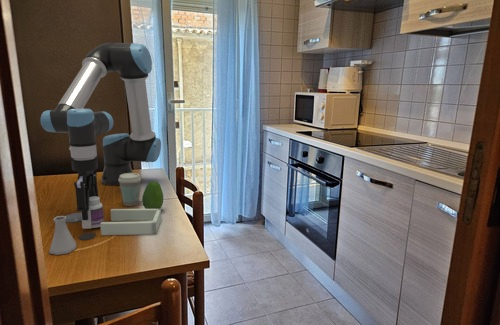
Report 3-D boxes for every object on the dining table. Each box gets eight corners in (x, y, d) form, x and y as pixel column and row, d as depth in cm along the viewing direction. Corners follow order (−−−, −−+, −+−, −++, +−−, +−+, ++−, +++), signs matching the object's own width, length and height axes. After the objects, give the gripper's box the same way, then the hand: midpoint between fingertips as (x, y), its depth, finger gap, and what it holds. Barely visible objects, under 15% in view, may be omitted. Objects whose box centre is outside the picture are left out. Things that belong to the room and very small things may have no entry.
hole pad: (82, 233, 107) (81, 232, 107) (98, 232, 108) (98, 232, 108) (75, 240, 103) (75, 240, 103) (92, 240, 103) (92, 239, 103)
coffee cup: (135, 208, 129) (133, 179, 126) (115, 206, 131) (113, 177, 128) (146, 201, 137) (144, 173, 134) (127, 199, 139) (125, 171, 136)
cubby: (112, 219, 118) (111, 209, 118) (161, 218, 121) (161, 208, 120) (101, 235, 107) (100, 223, 106) (155, 234, 109) (155, 222, 108)
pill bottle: (107, 223, 114) (105, 196, 111) (96, 229, 109) (93, 202, 107) (95, 220, 116) (92, 194, 113) (83, 226, 111) (80, 199, 108)
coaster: (68, 213, 122) (68, 212, 122) (91, 213, 123) (91, 212, 123) (59, 222, 114) (59, 221, 114) (83, 222, 115) (83, 221, 115)
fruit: (138, 210, 127) (136, 181, 124) (156, 205, 133) (155, 177, 130) (149, 216, 122) (148, 185, 119) (167, 211, 128) (167, 181, 125)
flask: (56, 243, 100) (52, 212, 98) (81, 243, 101) (78, 213, 99) (43, 255, 93) (39, 223, 91) (70, 255, 94) (67, 223, 92)
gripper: (82, 151, 115) (88, 213, 120) (59, 165, 97) (67, 237, 103) (105, 151, 115) (109, 213, 121) (86, 165, 98) (92, 236, 104)
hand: (90, 223), depth 112 cm, fingers closed on pill bottle, 5 cm apart
